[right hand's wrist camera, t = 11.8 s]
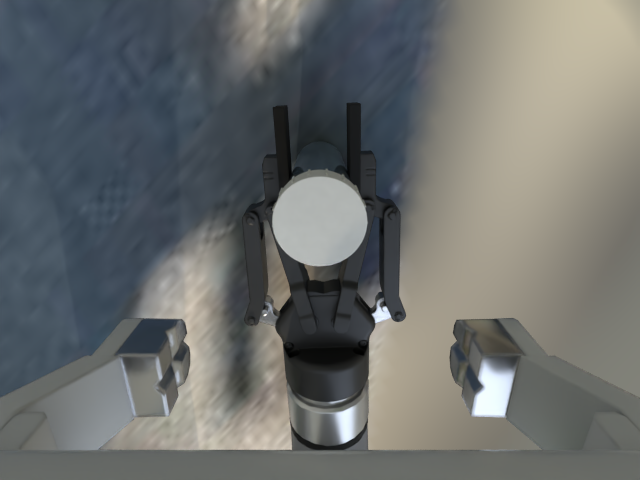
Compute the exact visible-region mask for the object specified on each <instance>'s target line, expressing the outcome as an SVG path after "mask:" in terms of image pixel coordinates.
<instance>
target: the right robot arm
mask: <svg viewBox="0 0 640 480" xmlns="http://www.w3.org/2000/svg"><path fill="white" fill-rule="evenodd" d="M186 334H187V330H186V325H185V322H184V321H183V320H182V319H147V318H146V319H144V318H127V319H124V320H122V321H121V322H120V323H119V325H118V326H117V327H116V328H115V329H114V330H113V331H112V333H111V334H110V335H109V336H108V337H107V338H106V340H105V341H104V342H103V343H102V344H101V345H100V346H99V348H98V349H97V350H96V351H95V352H94V353H93V354H92V356H84V357H82V358H80V359H78V360H76V361H74V362H72V363H70V364H68V365H65V366H63V367H61V368H59V369H57V370H55V371H53V372H51V373H49V374H47V375H45V376H43V377H41V378H39V379H37V380H35V381H33V382H31V383H29V384H27V385H25V386H23V387H21V388H19V389H17V390H15V391H13V392H11V393H9V394H7V395H5V396H2V397H0V480H640V398H639V397H637V396H635V395H633V394H631V393H629V392H627V391H625V390H623V389H621V388H619V387H617V386H615V385H613V384H611V383H609V382H607V381H605V380H603V379H601V378H599V377H597V376H595V375H593V374H591V373H589V372H587V371H585V370H583V369H581V368H579V367H576V366H574V365H572V364H570V363H568V362H566V361H564V360H562V359H560V358H558V357H556V356H548V355H547V353H546V352H545V351H544V350H543V349H542V348H541V346H540V345H539V344H538V343H537V342H536V341H535V340H534V338H533V337H532V336H531V335H530V334H529V333H528V332H527V330H526V329H525V328H524V327H523V326H522V325H521V323H520V322H519V321H518V320H516V319H514V318H502V319H471V320H456V322H455V325H454V330H453V334H454V336H455V338H456V340H457V341H456V342H455V343H454V344H453V345H452V346H451V350H450V368H451V372H452V376H453V378H454V380H455V383H456V384H458V385H459V386H461V387H462V388H463V390H462V398H463V400H464V402H465V404H466V406H467V408H468V410H469V412H470V415H471V416H481V417H506V419H507V420H508V421H509V422H510V423H512V424H513V425H514V426H515V427H516V428H517V429H519V430H520V431H521V432H522V433H523V434H525V435H526V436H527V437H528V438H529V439H530V440H532V441H533V442H534V443H535V444H536V445H538V446H539V447H540V448H541V449H542V450H98V449H99V448H100V447H101V446H103V445H104V444H105V443H106V442H107V441H109V440H110V439H111V438H112V437H113V436H114V435H116V434H117V433H118V432H119V431H120V430H122V429H123V428H124V427H125V426H126V425H127V424H129V423H130V422H131V421H132V420H133V419H134V417H159V416H169V415H170V413H171V411H172V408H173V406H174V404H175V402H176V400H177V398H178V390H177V388H178V387H179V386H181V385H182V384H184V383H185V380H186V378H187V376H188V372H189V367H190V350H189V346H188V345H187V344H186V343H185V342H184V341H183V340H184V338H185V336H186Z"/></svg>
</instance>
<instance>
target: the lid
mask: <svg viewBox="0 0 640 480" xmlns="http://www.w3.org/2000/svg"><path fill="white" fill-rule="evenodd" d="M365 207H366V204H365V202H364V199H363V200H362V198H361V196H360V193H359V191H358V188H357V186H356V185H355V186H354V185H353V184H352V183H351V182H350V181H349V180H348V179H347V178H345V177H344V175H343V174H342V175H340V174H338V173H335V172H333V171H328V169H326V170H311V171H310V169H309V170H308V171H307V172H304V173H302V174H299V175H297V176H296V177H295V176H293V177H292V180H290V181H289V182H288V183H287V184H286V185H285V186H284V188H281V190H280V192H279V197H278V199H277V202H276V203H275V204H274V207H273V209H272V211H273V216H272V227H273V231H274V235H275V238H276V240H277V242H278V244H279V245H280V246H281V248H282V249H283V250H284V251H285V252H286V253H287V254H288V255H289V256H290V257H292V258H293V259H295V260H297V261H299V262H301V263H304V264H307V265H311V266H328V265H332V264H336V263H338V262H341V261H343V260H345V259H346V258H348V257H349V256H350V255H352V254H353V253H354V252H355V251H356V250H357V248H358V247H359V246H360V244H361V243H362V241H363V239H364V236H365V233H366V229H367V224H368V221H367V213H366V209H365Z"/></svg>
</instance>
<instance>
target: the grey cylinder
mask: <svg viewBox="0 0 640 480" xmlns="http://www.w3.org/2000/svg"><path fill="white" fill-rule="evenodd" d="M309 169H310V171H311V170H326V169H328V171H333V172H335V173H338V174H340V175H342V174H343V175H344V177H345V178H347V179H348V180H349V181H350V178H349V175H348V172H347V169H346V166H345V163H344V160H343V158H342V155H341V153H340V152H339V150H338V149H337V148H336V147H335V146H333V145H332V144H330V143H327V142H322V141H317V142H313V143H310V144H308V145H306V146H305V147H304V148H303V149H302V150H301V151H300V153H299V154H298V157H297V159H296V162H295V165H294V168H293V171H292V174H291V177H290V180H292V177H293V176H295V177H296V176H297V175H299V174H302V173H304V172H307V171H308V170H309ZM290 180H289V181H290ZM350 182H351V181H350Z"/></svg>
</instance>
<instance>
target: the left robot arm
mask: <svg viewBox="0 0 640 480" xmlns="http://www.w3.org/2000/svg"><path fill="white" fill-rule="evenodd" d="M273 116H274V129H275V141H276V154H271V155H266V156H265V158H264V161H263V164H262V168H263V178H264V189H265V200H264V201H262V202H259V203H257V204H251V205H250V206H249V208H248V209H247V211H246V212H245V214H244V216H243V217H242V224H243V235H244V245H245V255H246V266H247V276H248V286H249V297H250V303H249V306H248V309H247V312H246V315H245V319H244V321H245V323H246V324H247V325H249V326H256V325H257V324H258V323H259V322H262V323H266V324H269V325H273V326H275V328H276V331H277V333H278V334H279V335H280V337H281V339H282V341H283V349H284V361H285V372H286V379H287V395H288V404H289V414H290V424H291V435H292V450H368V429H367V423H368V389H369V386H368V374H369V337H370V335H371V333H372V331H373V330H374V328H375V323H378V322H380V321H383V320H386V319H389V318H392V319H393V320H394V321H396V322H400V321H403V320H404V319H405V317H406V313H405V310H404V308H403V305H402V302H401V300H400V297H399V266H400V211H399V210H398V208H397V207H396V205H395V204H394V202H393V201H392V200H390V199H383V198H380V197H378V196H377V195H376V159H375V157H374V154H373V153H372V152H371V151H361V104H360V103H347V172H348V175H349V178H350V181H351V183H352V184H353V185H354V186H355V185H356V186H357V188H358V191H359V193H360V196H361V198H362V200H363V199H364V202H365V204H366V207H365V209H366V213H367V221H368V224H367V229H366V233H365V236H364V239H363V241H362V243H361V244H360V246H359V247H358V248H357V250H356V251H355V252H354V253H353V254H352V255H350V256H349V257H348V258H346V259H345V260H343V262H342V266H341V268H340V271H339V276H338V279H333V280H329V281H325V282H321V281H316V280H310V279H309V276H308V273H307V270H306V269H305V266H304V263H301V262H299V261H297V260H295V259H293V258H292V257H290V256H289V255H288V254H287V253H286V252H285V251H284V250H283V249H282V248H281V246H280V245H279V244H278V242H277V240H276V238H275V235H274V231H273V227H272V216H273V211H272V209H273V207H274V204H275V203H276V202H277V199H278V197H279V192H280V190H281V188H284V186H285V185H286V184H287V183H288V182H289V180H290V177H291V174H292V168H291V153H290V137H289V122H288V107H287V105H284V106H275V107H273ZM374 216H375V217H378V218H379V270H380V286H381V290H382V292H379V293H378V295H376V297H375V305H374V306H373V307H372V308H370V307H369V306H368V305H367V304H366V303H365V301H364V300H363V299H362V298H361V297H360V296H359V294H358V293H357V288H358V280H359V276H360V272H361V268H362V263H363V259H364V255H365V251H366V247H367V243H368V239H369V235H370V231H371V227H372V223H373V219H374ZM267 220H268V221H269V224H270V227H271V230H272V233H273V236H274V239H275V242H276V246H277V249H278V252H279V255H280V258H281V261H282V264H283V267H284V270H285V273H286V276H287V279H288V282H289V286H290V292H291V296H290V297H289V299H288V300H287V302H286V303H285V304H284V306H283V307H282V308H281V310H280V311H278V310H276V309H275V307H274V301H273V299H272V298H271V296H269V295H267V292H268V273H267V260H266V246H265V233H264V221H267Z"/></svg>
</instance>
